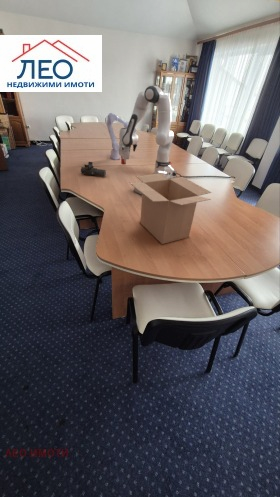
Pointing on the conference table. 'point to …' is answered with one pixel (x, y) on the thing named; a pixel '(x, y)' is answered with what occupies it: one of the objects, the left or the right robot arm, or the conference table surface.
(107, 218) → the conference table surface
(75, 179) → the conference table surface
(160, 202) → the box
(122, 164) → the canister
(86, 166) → the laser sight
